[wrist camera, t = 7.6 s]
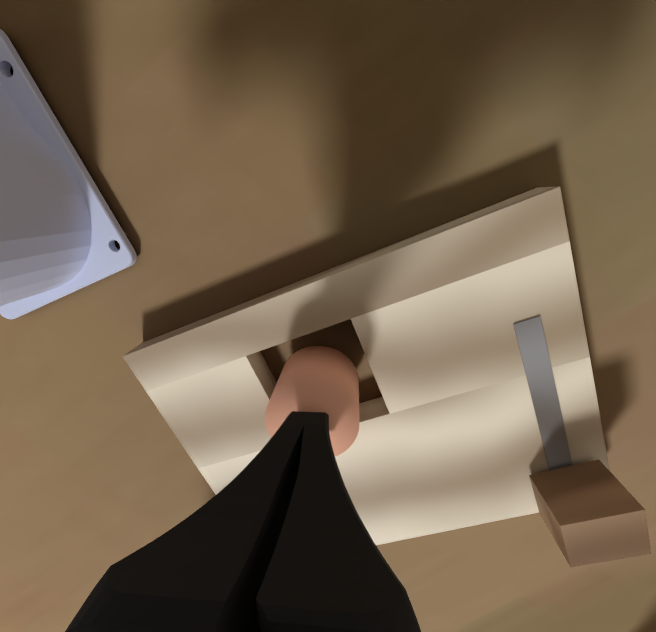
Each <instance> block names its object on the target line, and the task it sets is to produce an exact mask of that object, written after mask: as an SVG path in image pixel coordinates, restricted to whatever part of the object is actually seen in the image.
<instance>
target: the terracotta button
mask: <svg viewBox="0 0 656 632" xmlns="http://www.w3.org/2000/svg"><path fill="white" fill-rule="evenodd" d="M292 411H300V412H326V413H327V414H328V415H329V434H330V440H331V444H332V448H333V452H334V455H335V457H336V456H338V455H340V454H342V453H343V452H345V451H346V450H347V449H348V448H349V447H350V446H351V445H352V444H353V443H354V441H355V439H356V437H357V435H358V431H359V378H358V373H357V370H356V368H355V366H354V364H353V363H352V361H351V360H350V359H349V358H348V357H347V356H346V355H345V354H343V353H342V352H340V351H338V350H336V349H334V348H331V347H326V346H309V347H306V348H303V349H300V350H298V351H297V352H295V353H294V354H293V355H291V356H290V357H289V359H288V360H287V361H286V363H285V365H284V367H283V369H282V372H281V374H280V377H279V379H278V381H277V384H276V386H275V388H274V391H273V393H272V396H271V398H270V400H269V403H268V405H267V408H266V412H265V423H266V428H267V431H268V433H269V435H270V436H271V438H272V436H273V435H274V434H275V433H276V431H277V430H278V429H279V427H280V426H281V425H282V423H283V422H284V421H285V419H286V418H287V416H288V415H289V414H290V413H291V412H292Z"/></svg>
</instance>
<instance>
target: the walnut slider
mask: <svg viewBox="0 0 656 632" xmlns="http://www.w3.org/2000/svg"><path fill="white" fill-rule="evenodd" d="M529 477H530V481H531V484H532V488H533V492H534V495H535V499H536V503H537V506H538V510H539V513H540V515H541V517H542V518H543V520H544V522H545V524H546V525H547V527H548V529H549V530H550V532H551V534H552V536H553V537H554V539H555V541H556V543H557V544H558V546H559V548H560V550H561V551H562V553H563V555H564V556H565V558H566V560H567V562H568V563H569V565H570V567H575V566H581V565H587V564H593V563H599V562H605V561H611V560H617V559H623V558H629V557H635V556H641V555H647V554H651V549H650V542H649V534H648V527H647V520H646V513H645V509H644V508H643V507H642V506H641V505H640V504H639V503H638V501H637V500H636V499H635V498H634V497H633V496H632V495H631V494H630V493H629V492H628V491H627V490H626V488H625V487H624V486H623V485H622V484H621V483H620V482H619V481H618V480H617V479H616V478H615V476H614V475H613V474H612V473H611V472H610V471H609V470H608V469H607V468H606V467H605V466H604V464H603V463H602V462H601V461H600V460H595V461H590V462H586V463H581V464H577V465H572V466H568V467H563V468H559V469H554V470H550V471H546V472H541V473H537V474H532V475H529Z"/></svg>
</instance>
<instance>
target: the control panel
mask: <svg viewBox="0 0 656 632" xmlns="http://www.w3.org/2000/svg"><path fill="white" fill-rule="evenodd" d="M349 319H351V321H352V324H353V326H354V328H355V331H356V333H357V336H358V338H359V341H360V343H361V345H362V348H363V350H364V353H365V355H366V357H367V360H368V362H369V365H370V367H371V370H372V372H373V374H374V377H375V379H376V382H377V384H378V386H379V389H380V391H381V394H382V397H379V398H376V399H372V400H369V401H366V402H362V403H359V431H358V435H357V437H356V439H355V441H354V443H353V444H352V445H351V446H350V447H349V448H348V449H347V450H346V451H345V452H343V453H342V454H340V455H338V456H336V457H335V459H336V462H337V465H338V468H339V471H340V474H341V476H342V479H343V482H344V484H345V487H346V489H347V491H348V494H349V496H350V498H351V500H352V502H353V504H354V506H355V509H356V511H357V513H358V515H359V517H360V518H361V520H362V522H363V524H364V525H365V527H366V529H367V531H368V533H369V534H370V536H371V538H372V540H373V542H374V543H375V545H379V544H384V543H389V542H394V541H399V540H404V539H409V538H414V537H419V536H424V535H429V534H434V533H439V532H444V531H449V530H454V529H459V528H464V527H469V526H474V525H478V524H483V523H488V522H493V521H498V520H503V519H508V518H513V517H518V516H523V515H528V514H533V513H538V512H539V510H538V506H537V503H536V499H535V495H534V492H533V488H532V484H531V481H530V477H529V475H532V474H537V473H541V472H546V471H550V470H554V469H559V468H563V467H568V466H572V465H577V464H581V463H586V462H590V461H595V460H600V461H601V462H602V463H603V464H604V466H605V467H606V468H607V469H608V470H609V464H608V458H607V453H606V447H605V441H604V435H603V430H602V424H601V418H600V412H599V407H598V401H597V395H596V390H595V384H594V378H593V372H592V367H591V361H590V355H589V349H588V344H587V338H586V332H585V326H584V321H583V315H582V309H581V303H580V298H579V292H578V286H577V281H576V275H575V269H574V263H573V258H572V252H571V246H570V240H569V235H568V229H567V223H566V217H565V212H564V206H563V200H562V195H561V189H560V187H537V188H535V189H532V190H530V191H527V192H525V193H522V194H519V195H517V196H514V197H512V198H509V199H507V200H504V201H502V202H499V203H497V204H494V205H491V206H489V207H486V208H484V209H481V210H479V211H476V212H474V213H471V214H469V215H466V216H463V217H461V218H458V219H456V220H453V221H451V222H448V223H446V224H443V225H441V226H438V227H435V228H433V229H430V230H428V231H425V232H423V233H420V234H418V235H415V236H413V237H410V238H407V239H405V240H402V241H400V242H397V243H395V244H392V245H390V246H387V247H385V248H382V249H379V250H377V251H374V252H372V253H369V254H367V255H364V256H362V257H359V258H357V259H354V260H351V261H349V262H346V263H344V264H341V265H339V266H336V267H334V268H331V269H329V270H326V271H323V272H321V273H318V274H316V275H313V276H311V277H308V278H306V279H303V280H301V281H298V282H295V283H293V284H290V285H288V286H285V287H283V288H280V289H278V290H275V291H273V292H270V293H267V294H265V295H262V296H260V297H257V298H255V299H252V300H250V301H247V302H245V303H242V304H239V305H237V306H234V307H232V308H229V309H227V310H224V311H222V312H219V313H217V314H214V315H211V316H209V317H206V318H204V319H201V320H199V321H196V322H194V323H191V324H189V325H186V326H183V327H181V328H178V329H176V330H173V331H171V332H168V333H166V334H163V335H161V336H158V337H155V338H153V339H150V340H148V341H145V342H143V343H141V344H140V345H138V346H137V347H135V348H134V349H132V350H131V351H130V352H128V353H127V354H125V355H124V356H123V358H124V359H125V361H126V362H127V364H128V365H129V367H130V368H131V370H132V371H133V373H134V374H135V376H136V377H137V379H138V380H139V382H140V383H141V385H142V386H143V387H144V389H145V390H146V392H147V393H148V395H149V396H150V398H151V399H152V401H153V402H154V404H155V405H156V407H157V408H158V410H159V411H160V413H161V414H162V416H163V417H164V419H165V420H166V422H167V423H168V425H169V426H170V428H171V429H172V431H173V432H174V434H175V435H176V436H177V438H178V439H179V441H180V442H181V444H182V445H183V447H184V448H185V450H186V451H187V453H188V454H189V456H190V457H191V459H192V460H193V462H194V463H195V465H196V466H197V468H198V469H199V471H200V472H201V474H202V475H203V477H204V478H205V480H206V481H207V483H208V484H209V485H210V487H211V488H212V490H213V491H214V493H215V494H216V495H217V494H218V493H219V492H220V491H221V490H222V489H223V488H225V487H226V486H227V485H228V484H229V483H230V482H231V481H232V480H233V479H234V478H235V477H236V476H237V475H238V474H239V473H240V472H241V471H242V470H243V469H244V468H245V467H246V466H247V465H248V464H249V463H250V462H251V461H252V460H253V459H254V458H255V456H256V455H257V454H258V453H259V452H260V451H261V450H262V449H263V447H264V446H265V445H266V444H267V442H268V441H269V440H270V439H271V436H270V435H269V433H268V431H267V428H266V423H265V412H266V408H267V405H268V403H269V400H270V398H271V396H272V393H273V391H274V388H275V386H276V384H277V382H276V380H275V378H274V376H273V374H272V373H271V371H270V369H269V367H268V365H267V363H266V361H265V359H264V357H263V355H262V353H261V352H260V351H262V350H264V349H267V348H270V347H273V346H276V345H278V344H281V343H284V342H287V341H290V340H293V339H295V338H298V337H301V336H304V335H307V334H309V333H312V332H315V331H318V330H321V329H324V328H326V327H329V326H332V325H335V324H338V323H340V322H343V321H346V320H349ZM609 471H610V470H609Z"/></svg>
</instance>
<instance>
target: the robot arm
mask: <svg viewBox="0 0 656 632" xmlns="http://www.w3.org/2000/svg"><path fill="white" fill-rule="evenodd" d="M11 66H12V67H13V75H11V73H10V68H11ZM115 240H116V241H117V242H118V243H119V244H120V250H119V249H117V248H116V246H115ZM136 260H137V255H136V252H135V250H134V248H133V247H132V245H131V243H130V242H129V240H128V238H127V237H126V235H125V233H124V232H123V230H122V228H121V227H120V225H119V223H118V221H117V220H116V218H115V216H114V215H113V213H112V211H111V210H110V208H109V206H108V205H107V203H106V201H105V200H104V198H103V196H102V195H101V193H100V191H99V189H98V188H97V186H96V184H95V183H94V181H93V179H92V178H91V176H90V174H89V173H88V171H87V169H86V168H85V166H84V164H83V162H82V161H81V159H80V157H79V156H78V154H77V152H76V151H75V149H74V147H73V146H72V144H71V142H70V141H69V139H68V137H67V136H66V134H65V132H64V130H63V129H62V127H61V125H60V124H59V122H58V120H57V119H56V117H55V115H54V114H53V112H52V110H51V109H50V107H49V105H48V103H47V102H46V100H45V98H44V97H43V95H42V93H41V92H40V90H39V88H38V87H37V85H36V83H35V82H34V80H33V78H32V77H31V75H30V73H29V71H28V70H27V68H26V66H25V65H24V63H23V61H22V60H21V58H20V56H19V55H18V53H17V51H16V50H15V48H14V46H13V45H12V43H11V41H10V39H9V38H8V36H7V35H6V34H5V32H4V31H3V30H1V29H0V314H1V315H2V316H3V317H5V318H6V319H15V318H17V317H20V316H22V315H24V314H27V313H29V312H31V311H33V310H35V309H38V308H40V307H42V306H44V305H46V304H48V303H51V302H53V301H55V300H57V299H59V298H62V297H64V296H66V295H68V294H70V293H73V292H75V291H77V290H79V289H81V288H84V287H86V286H88V285H90V284H92V283H95V282H97V281H99V280H101V279H103V278H106V277H108V276H110V275H112V274H114V273H117V272H119V271H121V270H123V269H125V268H127V267H130V266H132V265H133V264H135V262H136ZM65 632H421V630H420V627H419V624H418V621H417V618H416V616H415V613H414V610H413V608H412V605H411V603H410V600H409V597H408V595H407V592H406V590H405V588H404V586H403V585H402V584H401V582H400V581H399V579H398V578H397V577H396V575H395V574H394V572H393V571H392V569H391V568H390V567H389V565H388V564H387V562H386V561H385V559H384V558H383V556H382V554H381V553H380V551H379V550H378V548H377V546H376V545H375V543H374V542H373V540H372V538H371V536H370V534H369V533H368V531H367V529H366V527H365V525H364V524H363V522H362V520H361V518H360V517H359V515H358V513H357V511H356V509H355V506H354V504H353V502H352V500H351V498H350V496H349V494H348V491H347V489H346V487H345V484H344V482H343V479H342V476H341V474H340V471H339V468H338V465H337V462H336V459H335V455H334V452H333V448H332V444H331V440H330V434H329V415H328V414H327V413H326V412H300V411H292V412H291V413H290V414H289V415H288V416H287V418H286V419H285V421H284V422H283V423H282V425H281V426H280V427H279V429H278V430H277V431H276V433H275V434H274V435H273V436H272V438H271V439H270V440H269V441H268V442H267V444H266V445H265V446H264V447H263V449H262V450H261V451H260V452H259V453H258V454H257V455H256V456H255V458H254V459H253V460H252V461H251V462H250V463H249V464H248V465H247V466H246V467H245V468H244V469H243V470H242V471H241V472H240V473H239V474H238V475H237V476H236V477H235V478H234V479H233V480H232V481H231V482H230V483H229V484H228V485H227V486H226V487H225V488H223V489H222V490H221V491H220V492H219V493H218V494H217V495H215V496H214V497H213V498H212V499H211V500H209V501H208V502H207V503H206V504H205V505H203V506H202V507H201V508H200V509H198V510H197V511H196V512H194V513H193V514H192V515H190V516H189V517H188V518H186V519H185V520H183V521H182V522H181V523H179V524H178V525H176V526H175V527H173V528H172V529H171V530H169V531H168V532H166V533H165V534H163V535H162V536H160V537H158V538H157V539H155V540H154V541H152V542H151V543H149V544H147V545H146V546H144V547H142V548H141V549H139V550H137V551H135V552H134V553H132V554H130V555H129V556H127V557H125V558H124V559H122V560H120V561H119V562H117V563H115V564H113V565H111V566H110V567H109V569H108V570H107V571H106V573H105V574H104V575H103V577H102V578H101V579H100V581H99V582H98V583H97V584H96V586H95V587H94V589H93V590H92V592H91V593H90V595H89V596H88V598H87V599H86V601H85V602H84V604H83V605H82V607H81V608H80V610H79V611H78V613H77V614H76V616H75V617H74V619H73V620H72V622H71V623H70V625H69V626H68V628H67V630H66V631H65Z"/></svg>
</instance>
